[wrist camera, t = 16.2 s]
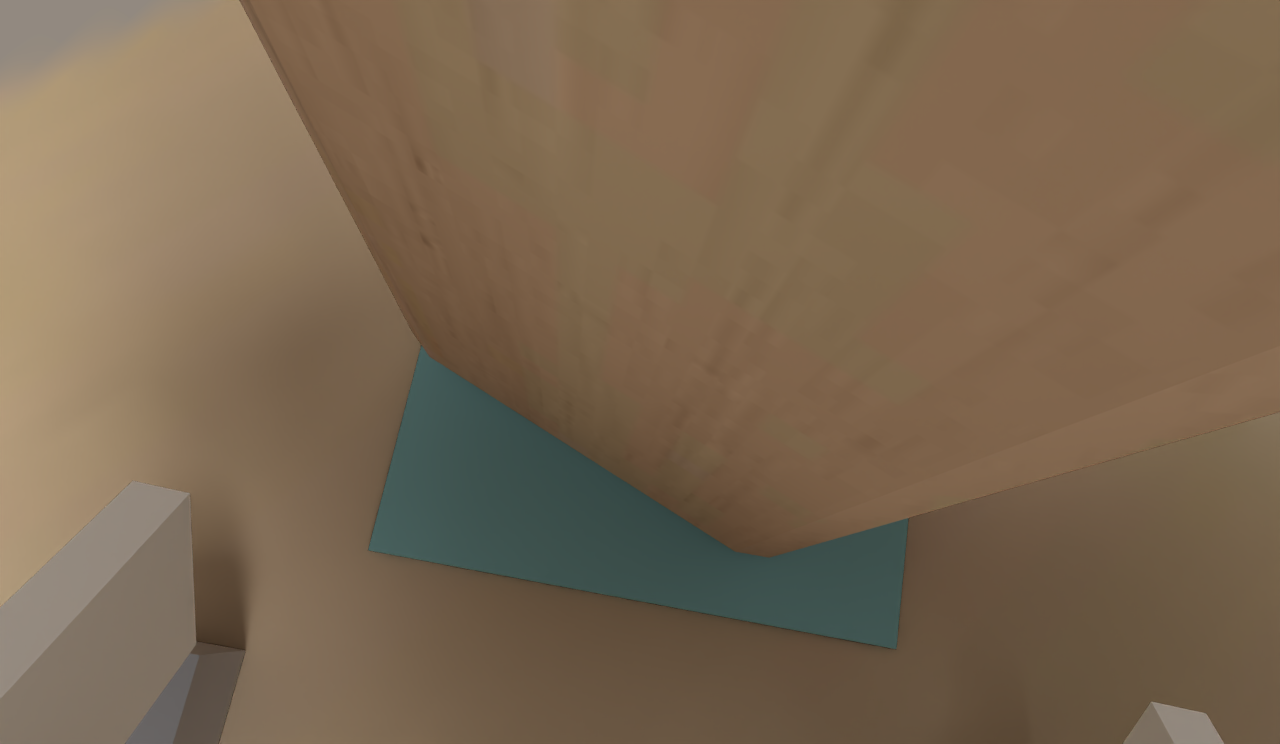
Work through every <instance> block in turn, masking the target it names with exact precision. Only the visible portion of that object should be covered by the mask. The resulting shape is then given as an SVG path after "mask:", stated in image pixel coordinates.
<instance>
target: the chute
mask: <svg viewBox="0 0 1280 744" xmlns="http://www.w3.org/2000/svg"><path fill="white" fill-rule="evenodd" d="M244 654H245V650H241V649H235V648H230V647H224V646H219V645H213V644H208V643H202V642H197V641H196V645H195V647H194V648H193V650H192V651H191V652H190V654H189V655H188V657H187V658H186V659H185V661H184V662H183V663H182V665H181V666H180V668H179V669H178V670H177V672H176V673H175V675H174V676H173V677H172V679H171V680H170V681H169V683H168V684H167V686H166V687H165V688H164V690H163V691H162V693H161V694H160V695H159V697H158V698H157V699H156V701H155V702H154V704H153V705H152V706H151V708H150V709H149V711H148V712H147V713H146V715H145V716H144V717H143V719H142V720H141V722H140V723H139V724H138V726H137V727H136V729H135V730H134V731H133V733H132V734H131V735H130V737H129V738H128V740H127V741H126V742H125V744H219V740H220V737H221V733H222V730H223V726H224V723H225V719H226V716H227V713H228V709H229V706H230V702H231V699H232V695H233V692H234V688H235V685H236V681H237V678H238V675H239V671H240V668H241V664H242V661H243V657H244Z"/></svg>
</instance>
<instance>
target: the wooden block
mask: <svg viewBox="0 0 1280 744" xmlns="http://www.w3.org/2000/svg"><path fill="white" fill-rule="evenodd" d="M240 2H241V4H242V6H243V8H244V10H245V12H246V14H247V16H248V17H249V19H250V21H251V23H252V25H253V27H254V29H255V31H256V33H257V35H258V37H259V39H260V40H261V42H262V44H263V46H264V48H265V50H266V52H267V54H268V56H269V58H270V60H271V62H272V64H273V65H274V67H275V69H276V71H277V73H278V75H279V77H280V79H281V81H282V83H283V85H284V87H285V89H286V90H287V92H288V94H289V96H290V98H291V100H292V102H293V104H294V106H295V108H296V110H297V112H298V113H299V115H300V117H301V119H302V121H303V123H304V125H305V127H306V129H307V131H308V133H309V135H310V137H311V138H312V140H313V142H314V144H315V146H316V148H317V150H318V152H319V154H320V156H321V158H322V160H323V161H324V163H325V165H326V167H327V169H328V171H329V173H330V175H331V177H332V179H333V181H334V183H335V185H336V186H337V188H338V190H339V192H340V194H341V196H342V198H343V200H344V202H345V204H346V206H347V208H348V210H349V211H350V213H351V215H352V217H353V219H354V221H355V223H356V225H357V227H358V229H359V231H360V233H361V234H362V236H363V238H364V240H365V242H366V244H367V246H368V248H369V250H370V252H371V254H372V256H373V258H374V259H375V261H376V263H377V265H378V267H379V269H380V271H381V273H382V275H383V277H384V279H385V281H386V282H387V284H388V286H389V288H390V290H391V292H392V294H393V296H394V298H395V300H396V302H397V304H398V306H399V307H400V309H401V311H402V313H403V315H404V317H405V319H406V321H407V323H408V325H409V327H410V329H411V330H412V332H413V333H414V335H415V336H416V338H417V339H418V341H419V342H420V344H421V345H422V347H423V348H424V349H425V351H426V352H427V354H428V355H429V357H431V358H432V359H434V360H435V361H437V362H438V363H440V364H442V365H443V366H445V367H446V368H448V369H449V370H451V371H453V372H454V373H456V374H457V375H459V376H460V377H462V378H464V379H465V380H467V381H468V382H470V383H471V384H473V385H475V386H476V387H478V388H479V389H481V390H482V391H484V392H485V393H487V394H489V395H490V396H492V397H493V398H495V399H496V400H498V401H500V402H501V403H503V404H504V405H506V406H507V407H509V408H511V409H512V410H514V411H515V412H517V413H518V414H520V415H522V416H523V417H525V418H526V419H528V420H529V421H531V422H533V423H534V424H536V425H537V426H539V427H540V428H542V429H543V430H545V431H547V432H548V433H550V434H551V435H553V436H554V437H556V438H558V439H559V440H561V441H562V442H564V443H565V444H567V445H569V446H570V447H572V448H573V449H575V450H576V451H578V452H580V453H581V454H583V455H584V456H586V457H587V458H589V459H591V460H592V461H594V462H595V463H597V464H598V465H600V466H601V467H603V468H605V469H606V470H608V471H609V472H611V473H612V474H614V475H616V476H617V477H619V478H620V479H622V480H623V481H625V482H627V483H628V484H630V485H631V486H633V487H634V488H636V489H638V490H639V491H641V492H642V493H644V494H645V495H647V496H649V497H650V498H652V499H653V500H655V501H656V502H658V503H659V504H661V505H663V506H664V507H666V508H667V509H669V510H670V511H672V512H674V513H675V514H677V515H678V516H680V517H681V518H683V519H685V520H686V521H688V522H689V523H691V524H692V525H694V526H696V527H697V528H699V529H700V530H702V531H703V532H705V533H706V534H708V535H710V536H711V537H713V538H714V539H716V540H717V541H719V542H721V543H722V544H724V545H725V546H727V547H728V548H730V549H732V550H733V551H735V552H740V553H746V554H751V555H757V556H763V557H768V558H770V557H773V556H777V555H780V554H784V553H787V552H791V551H794V550H798V549H801V548H805V547H808V546H812V545H815V544H819V543H822V542H826V541H829V540H833V539H836V538H840V537H843V536H847V535H850V534H854V533H857V532H861V531H864V530H868V529H871V528H875V527H878V526H882V525H885V524H889V523H892V522H896V521H899V520H903V519H906V518H910V517H913V516H917V515H920V514H924V513H927V512H931V511H934V510H938V509H941V508H945V507H948V506H952V505H955V504H959V503H962V502H966V501H969V500H973V499H976V498H980V497H983V496H987V495H990V494H994V493H997V492H1001V491H1004V490H1008V489H1011V488H1015V487H1018V486H1022V485H1025V484H1029V483H1032V482H1036V481H1039V480H1043V479H1046V478H1050V477H1053V476H1057V475H1060V474H1064V473H1067V472H1071V471H1074V470H1078V469H1081V468H1085V467H1088V466H1092V465H1095V464H1099V463H1102V462H1106V461H1109V460H1113V459H1116V458H1120V457H1123V456H1127V455H1130V454H1134V453H1137V452H1141V451H1144V450H1148V449H1151V448H1155V447H1158V446H1162V445H1165V444H1169V443H1172V442H1176V441H1179V440H1183V439H1186V438H1190V437H1193V436H1197V435H1200V434H1204V433H1207V432H1211V431H1214V430H1218V429H1221V428H1225V427H1228V426H1232V425H1235V424H1239V423H1242V422H1246V421H1249V420H1253V419H1256V418H1260V417H1263V416H1267V415H1270V414H1274V413H1277V412H1280V0H240Z"/></svg>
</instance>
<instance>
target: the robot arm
mask: <svg viewBox="0 0 1280 744" xmlns="http://www.w3.org/2000/svg"><path fill="white" fill-rule="evenodd" d="M195 645H196V623H195V599H194V575H193V551H192V527H191V503H190V493H187V492H183V491H178V490H173V489H169V488H164V487H159V486H155V485H150V484H146V483H141V482H136V481H132V482H131V483H130V484H129V485H128V486H127V487H126V488H124V489H123V490H122V491H121V492H120V493H119V494H118V495H117V496H116V497H115V498H114V499H113V500H112V501H111V502H110V503H109V504H108V505H107V506H106V507H105V508H104V509H103V510H102V511H100V512H99V513H98V514H97V515H96V516H95V517H94V518H93V519H92V520H91V521H90V522H89V523H88V524H87V525H86V526H85V527H84V528H83V529H82V530H81V531H80V532H79V533H78V534H76V535H75V536H74V537H73V538H72V539H71V540H70V541H69V542H68V543H67V544H66V545H65V546H64V547H63V548H62V549H61V550H60V551H59V552H58V553H57V554H56V555H55V556H54V557H52V558H51V559H50V560H49V561H48V562H47V563H46V564H45V565H44V566H43V567H42V568H41V569H40V570H39V571H38V572H37V573H36V574H35V575H34V576H33V577H32V578H31V579H30V580H28V581H27V582H26V583H25V584H24V585H23V586H22V587H21V588H20V589H19V590H18V591H17V592H16V593H15V594H14V595H13V596H12V597H11V598H10V599H9V600H8V601H7V602H5V603H4V604H3V605H2V606H1V607H0V744H125V742H126V741H127V740H128V738H129V737H130V735H131V734H132V733H133V731H134V730H135V729H136V727H137V726H138V724H139V723H140V722H141V720H142V719H143V717H144V716H145V715H146V713H147V712H148V711H149V709H150V708H151V706H152V705H153V704H154V702H155V701H156V699H157V698H158V697H159V695H160V694H161V693H162V691H163V690H164V688H165V687H166V686H167V684H168V683H169V681H170V680H171V679H172V677H173V676H174V675H175V673H176V672H177V670H178V669H179V668H180V666H181V665H182V663H183V662H184V661H185V659H186V658H187V657H188V655H189V654H190V652H191V651H192V650H193V648H194V647H195ZM1123 744H1224V742H1223V741H1222V739H1221V737H1220V736H1219V734H1218V732H1217V731H1216V729H1215V727H1214V726H1213V724H1212V722H1211V721H1210V719H1209V717H1208V716H1207V714H1206V713H1203V712H1198V711H1193V710H1189V709H1184V708H1180V707H1175V706H1170V705H1166V704H1161V703H1156V702H1152V701H1151V702H1150V704H1149V705H1148V707H1147V708H1146V710H1145V711H1144V713H1143V714H1142V716H1141V717H1140V719H1139V720H1138V722H1137V723H1136V725H1135V726H1134V728H1133V729H1132V730H1131V732H1130V733H1129V735H1128V736H1127V738H1126V739H1125V741H1124V742H1123Z"/></svg>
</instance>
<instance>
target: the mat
mask: <svg viewBox="0 0 1280 744" xmlns="http://www.w3.org/2000/svg"><path fill="white" fill-rule="evenodd" d="M907 529H908V518H906V519H903V520H899V521H896V522H892V523H889V524H885V525H882V526H878V527H875V528H871V529H868V530H864V531H861V532H857V533H854V534H850V535H847V536H843V537H840V538H836V539H833V540H829V541H826V542H822V543H819V544H815V545H812V546H808V547H805V548H801V549H798V550H794V551H791V552H787V553H784V554H780V555H777V556H773V557H770V558H768V557H763V556H757V555H751V554H746V553H740V552H735V551H733V550H732V549H730V548H728V547H727V546H725V545H724V544H722V543H721V542H719V541H717V540H716V539H714V538H713V537H711V536H710V535H708V534H706V533H705V532H703V531H702V530H700V529H699V528H697V527H696V526H694V525H692V524H691V523H689V522H688V521H686V520H685V519H683V518H681V517H680V516H678V515H677V514H675V513H674V512H672V511H670V510H669V509H667V508H666V507H664V506H663V505H661V504H659V503H658V502H656V501H655V500H653V499H652V498H650V497H649V496H647V495H645V494H644V493H642V492H641V491H639V490H638V489H636V488H634V487H633V486H631V485H630V484H628V483H627V482H625V481H623V480H622V479H620V478H619V477H617V476H616V475H614V474H612V473H611V472H609V471H608V470H606V469H605V468H603V467H601V466H600V465H598V464H597V463H595V462H594V461H592V460H591V459H589V458H587V457H586V456H584V455H583V454H581V453H580V452H578V451H576V450H575V449H573V448H572V447H570V446H569V445H567V444H565V443H564V442H562V441H561V440H559V439H558V438H556V437H554V436H553V435H551V434H550V433H548V432H547V431H545V430H543V429H542V428H540V427H539V426H537V425H536V424H534V423H533V422H531V421H529V420H528V419H526V418H525V417H523V416H522V415H520V414H518V413H517V412H515V411H514V410H512V409H511V408H509V407H507V406H506V405H504V404H503V403H501V402H500V401H498V400H496V399H495V398H493V397H492V396H490V395H489V394H487V393H485V392H484V391H482V390H481V389H479V388H478V387H476V386H475V385H473V384H471V383H470V382H468V381H467V380H465V379H464V378H462V377H460V376H459V375H457V374H456V373H454V372H453V371H451V370H449V369H448V368H446V367H445V366H443V365H442V364H440V363H438V362H437V361H435V360H434V359H432V358H431V357H429V355H428V354H427V352H426V351H425V349H424V348H423V347H422V345H421V349H420V353H419V357H418V361H417V365H416V368H415V372H414V376H413V380H412V384H411V388H410V392H409V395H408V399H407V403H406V407H405V411H404V415H403V418H402V422H401V426H400V430H399V434H398V438H397V441H396V445H395V449H394V453H393V457H392V461H391V464H390V468H389V472H388V476H387V480H386V484H385V487H384V491H383V495H382V499H381V503H380V507H379V510H378V514H377V518H376V522H375V526H374V530H373V533H372V537H371V541H370V545H369V549H368V550H369V551H375V552H380V553H385V554H391V555H396V556H401V557H407V558H412V559H417V560H423V561H428V562H433V563H439V564H444V565H449V566H455V567H460V568H465V569H471V570H476V571H481V572H487V573H492V574H497V575H503V576H508V577H513V578H519V579H524V580H529V581H535V582H540V583H545V584H551V585H556V586H561V587H567V588H572V589H578V590H583V591H588V592H594V593H599V594H604V595H610V596H615V597H620V598H626V599H631V600H636V601H642V602H647V603H652V604H658V605H663V606H668V607H674V608H679V609H684V610H690V611H695V612H700V613H706V614H711V615H716V616H722V617H727V618H732V619H738V620H743V621H748V622H754V623H759V624H764V625H770V626H775V627H780V628H786V629H791V630H796V631H802V632H807V633H812V634H818V635H823V636H828V637H834V638H839V639H844V640H850V641H855V642H860V643H866V644H871V645H876V646H882V647H887V648H892V649H896V648H897V637H898V626H899V615H900V605H901V594H902V583H903V572H904V561H905V551H906V540H907Z"/></svg>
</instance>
